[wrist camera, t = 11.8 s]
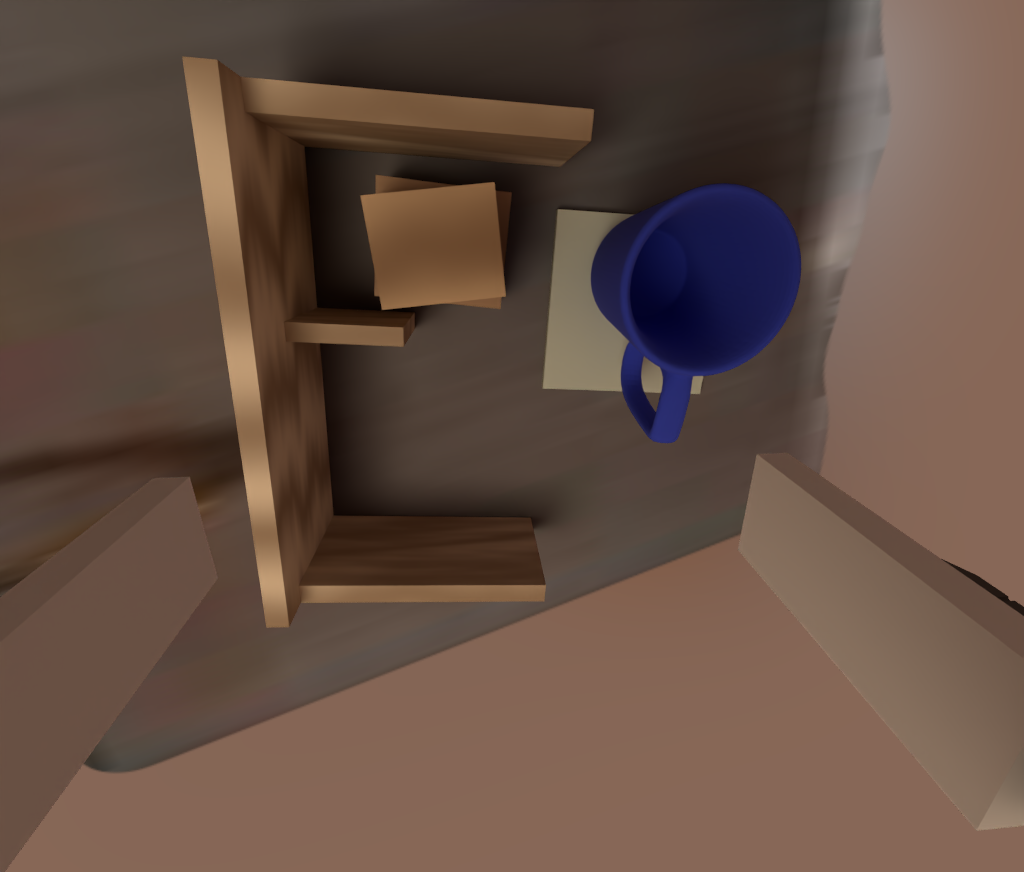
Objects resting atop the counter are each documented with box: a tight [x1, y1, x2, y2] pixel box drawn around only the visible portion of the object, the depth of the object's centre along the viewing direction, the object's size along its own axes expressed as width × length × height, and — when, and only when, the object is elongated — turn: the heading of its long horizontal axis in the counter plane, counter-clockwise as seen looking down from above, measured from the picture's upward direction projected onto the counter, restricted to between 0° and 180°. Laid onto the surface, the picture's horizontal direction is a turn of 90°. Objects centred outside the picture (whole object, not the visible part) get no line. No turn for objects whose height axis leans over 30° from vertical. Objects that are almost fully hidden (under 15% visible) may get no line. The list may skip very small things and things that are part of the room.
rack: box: [182, 57, 594, 627], centre depth 28 cm, size 26×16×10 cm, turn 177°
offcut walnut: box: [374, 175, 512, 309], centre depth 29 cm, size 6×7×4 cm
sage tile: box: [542, 209, 703, 394], centre depth 32 cm, size 11×11×1 cm
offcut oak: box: [360, 182, 506, 310], centre depth 25 cm, size 5×6×4 cm
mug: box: [591, 183, 801, 443], centre depth 27 cm, size 8×12×10 cm
